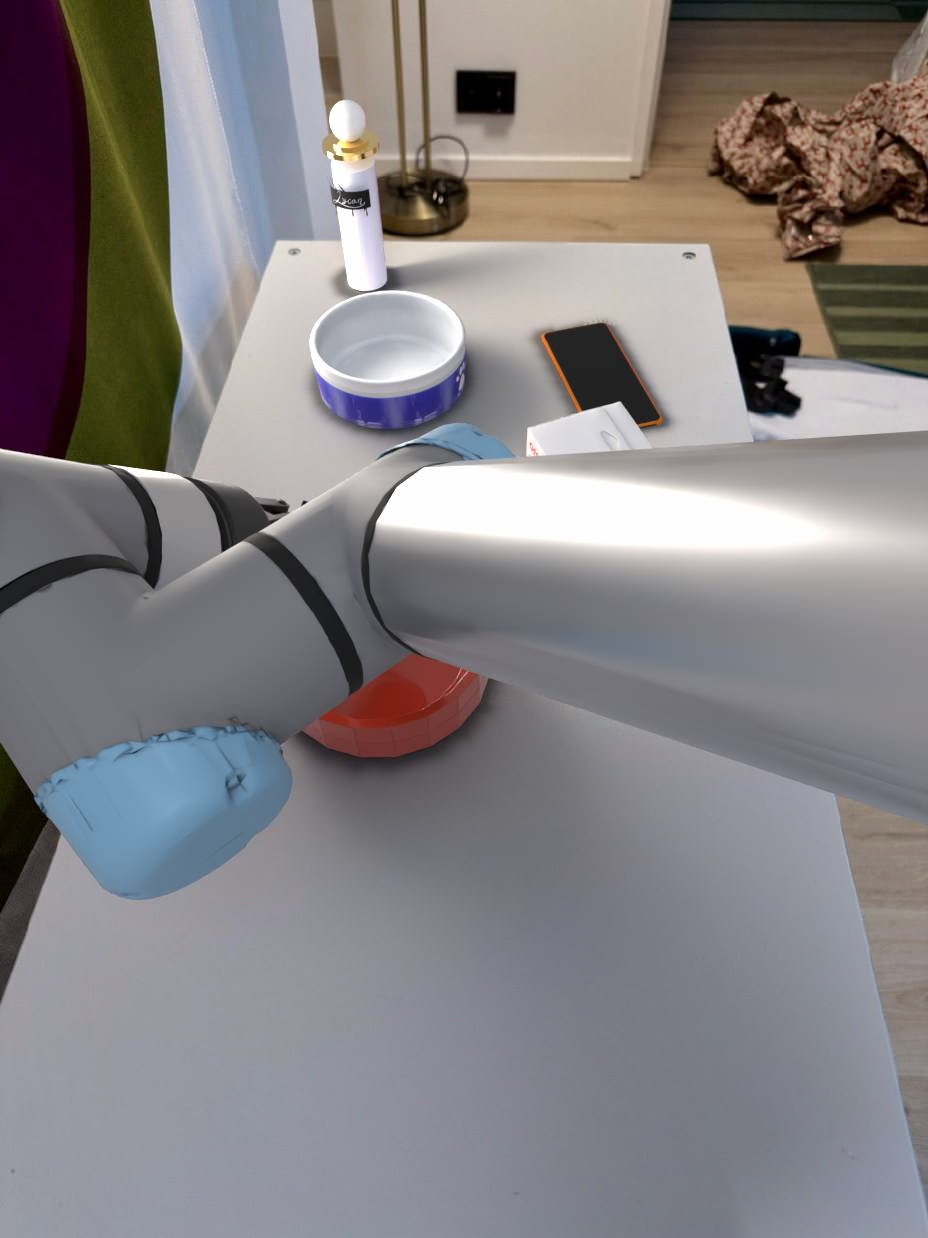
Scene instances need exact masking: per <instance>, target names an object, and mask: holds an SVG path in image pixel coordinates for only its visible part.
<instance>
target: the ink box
mask: <svg viewBox="0 0 928 1238" xmlns="http://www.w3.org/2000/svg"><path fill="white" fill-rule="evenodd" d="M526 430H527V431H526V456H525V457H529V456H544V455H559V454H574V453H590V452H605V451H620V450H636V449H651V448H654V446H653V445H652V443H651V442H650V441H649V439H648V438H647V437H646V435H645V434H644V432H643V431H642V428H639V427H638V425H637V424H636V423H635V421H634V420H633V418H632V417H631V416H630V414H629V413H628V411H627V410H626V409H625V407H624V406H623V404H622V403H621V402H616V403H613V404H609V405H605V406H601V407H597V408H593V409H589V410H586V411H582V412H578V411H577V412H575V413H571V414H568V415H567V414H566V415H564V416H559V417H557V418H554V419H551V420H547V421H543V422H541V423H538V424H534V425H531V426H528V427H527V429H526Z"/></svg>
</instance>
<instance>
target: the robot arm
mask: <svg viewBox="0 0 928 1238" xmlns="http://www.w3.org/2000/svg"><path fill="white" fill-rule="evenodd" d="M290 508H291V505H290V504H289V503H287V501H286V500H284V499H281V498H279V499H276V498H270V497H260V496H259V497H257V496H254V495H252V494H251V493H249V492H248V491H247V490H245V489H243V488H242V487H240V486H238V485H235V484H232V483H230V482H223V481H217V480H211V479H210V480H209V479H203V478H196V477H189V476H181V475H179V474H174V473H170V472H164V471H157V470H149V469H142V468H134V467H127V466H121V465H112V464H102V465H101V464H100V463H82V462H77V461H71V460H65V459H60V458H54V457H48V456H43V455H36V454H31V453H25V452H20V451H14V450H9V449H3V448H0V744H1V746H2V748H3V749H4V751H5V752H6V753H7V755H8V757H9V759H10V760H11V761H12V763H13V764H14V767H16V769H17V771H18V772H19V774H20V775H21V777H22V778H23V780H24V782H25V783H26V785H27V786H28V788H29V789H30V791H31V793H32V794H33V800H34V801H35V803H36V805H37V806H38V807H39V809H40V811H41V813H43V814H44V815H45V816H46V817H47V818H48V819H49V820H51V821H52V823H53V824H54V826H55V827H56V828H57V830H58V831H59V833H60V834H61V836H62V837H63V838H64V839H65V840H66V842H67V843H68V845H69V846H70V847H71V848H72V851H74V853H75V854H76V855H77V857H78V858H79V859H80V861H81V862H82V863H83V865H84V866H85V867H86V869H87V870H88V871H89V873H90V874H91V875H92V876H93V879H94V880H95V881H96V883H98V885H99V886H100V887H101V888H102V889H103V890H104V891H106V892H108V893H110V894H111V895H116V896H117V897H119V898H122V899H127V900H131V901H145V900H152V899H156V898H160V897H163V896H168V895H170V894H173V893H175V892H177V891H180V890H181V889H184V888H186V887H188V886H190V885H192V884H194V883H196V882H198V881H199V880H202V879H203V878H205V877H206V876H207V875H209V874H211V873H212V872H214V871H215V870H217V869H218V868H220V867H222V866H223V865H224V864H226V863H227V862H228V861H230V860H231V859H233V858H234V857H235V856H236V855H237V854H239V853H241V851H243V850H244V849H246V848H247V845H248V844H249V843H250V841H251V840H252V839H253V838H254V837H255V836H256V835H258V834H259V833H262V832H263V831H264V830H265V829H267V828H268V827H269V826H270V824H272V822H274V820H275V819H276V818H277V817H278V816H279V814H280V813H281V811H282V810H283V808H284V807H285V805H286V803H287V802H288V800H289V799H290V795H291V792H292V789H293V785H294V784H293V783H294V780H293V773H292V770H291V767H290V766H289V763H287V761H286V759H285V758H284V752H283V748H282V746H281V745H283V744H284V743H286V742H287V741H289V740H290V739H292V738H293V737H295V736H297V734H298V733H300V732H302V730H303V729H304V728H306V727H307V726H308V725H310V724H311V723H313V722H314V721H316V720H317V719H319V718H320V717H321V716H323V715H324V714H326V713H327V712H329V711H330V710H331V709H333V708H334V707H336V706H337V705H339V704H340V703H341V702H343V701H344V700H346V699H347V698H348V697H349V696H350V695H352V694H353V693H355V692H356V691H358V690H359V689H361V688H362V687H363V686H365V685H366V684H368V683H369V682H371V681H372V680H374V679H375V678H376V677H378V676H379V675H381V674H382V673H384V672H385V671H386V670H388V669H389V668H391V667H392V666H394V665H395V664H397V663H398V662H399V661H401V660H402V659H404V658H405V657H407V656H408V655H410V654H412V653H413V654H416V655H419V656H422V657H425V658H429V659H432V660H436V661H441V662H444V663H447V664H450V665H452V666H455V667H458V668H461V669H464V670H467V671H470V672H473V673H476V674H479V675H482V676H485V677H488V678H489V679H490V680H491V679H492V680H494V681H496V682H497V681H498V682H500V683H502V684H506V685H509V686H512V687H515V688H517V689H521V690H524V691H527V692H529V693H533V694H536V695H538V696H542V697H545V698H548V699H551V700H554V701H557V702H559V703H563V704H565V705H569V706H572V707H574V708H577V709H581V710H584V711H586V712H590V713H593V714H596V715H598V716H601V717H604V718H607V719H610V720H613V721H616V722H619V723H623V724H624V725H625V724H626V725H628V726H631V727H635V728H637V729H640V730H643V731H646V732H648V733H652V734H655V735H657V736H661V737H664V738H667V739H669V740H673V741H675V742H679V743H681V744H684V745H688V746H691V747H693V748H696V749H699V750H702V751H705V752H708V753H712V754H715V755H717V756H720V757H723V758H726V759H728V760H729V759H730V760H731V761H732V760H733V761H735V762H739V763H741V764H743V765H748V766H749V767H753V768H756V769H760V770H762V771H765V772H767V773H771V774H775V775H777V776H779V777H783V778H785V779H789V780H792V781H794V782H797V783H801V784H803V785H806V786H809V787H812V788H815V789H819V790H821V791H824V792H827V793H829V794H830V793H831V794H833V795H836V796H839V797H842V798H845V799H848V800H851V801H854V802H857V803H860V804H863V805H866V806H869V807H872V808H875V809H878V810H881V811H884V812H887V813H890V814H893V815H895V816H899V817H901V818H905V819H908V820H910V821H913V822H916V823H918V824H919V823H920V824H922V825H925V826H928V429H927V430H914V431H913V430H912V431H898V432H897V431H895V432H882V433H881V432H880V433H867V434H866V433H865V434H855V435H854V434H852V435H850V434H849V435H838V436H837V435H836V436H835V435H834V436H821V437H805V438H791V439H789V438H788V439H776V440H775V439H774V440H760V441H759V440H758V441H743V442H728V443H714V444H700V445H698V444H697V445H684V446H669V447H653V448H651V449H636V450H620V451H605V452H590V453H574V454H559V455H544V456H529V457H526V456H516V455H515V454H514V453H513V452H512V450H510V448H509V447H508V446H507V445H506V444H505V443H503V442H502V441H501V440H500V439H499V438H497V437H496V436H494V435H484V433H483V431H482V430H481V429H480V428H479V427H477V426H476V425H474V424H469V423H465V422H453V423H448V424H443V425H440V426H438V427H436V428H435V429H432V430H431V431H428V432H426V433H425V434H423V435H421V436H418V437H417V438H415V439H411V440H409V441H405V442H402V443H400V444H397V445H394V446H392V447H390V448H388V449H386V450H384V451H383V452H382V453H380V455H379V456H378V457H377V458H376V459H375V460H374V461H372V463H370V464H368V465H367V466H366V467H364V468H362V469H361V470H359V471H357V472H355V473H354V474H352V475H350V476H348V477H347V478H346V479H344V480H342V481H340V482H339V483H338V484H336V485H334V486H332V487H331V488H329V489H328V490H326V491H324V492H322V493H321V494H319V495H318V496H316V497H315V498H313V499H311V500H309V501H308V500H304V499H303V500H302V501H301V505H300V506H299V507H298V508H296V509H294V510H293V511H289V510H290Z"/></svg>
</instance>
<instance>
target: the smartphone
mask: <svg viewBox="0 0 928 1238" xmlns="http://www.w3.org/2000/svg"><path fill="white" fill-rule="evenodd" d="M540 338H541V342H542V343H543V345H544V347H545V349H546V352H547V353H548V355H549V357H550V359H551V361H552V363H553V364H554V366H555V369H556V371H557V372H558V375H559V377H560V378H561V380H562V382H563V385H564V386H565V388H566V390H567V392H568V394H569V396H570V398H571V400H572V402H573V404H574V406H575V408H576V410H577V413H578V412H582V411H586V410H589V409H593V408H597V407H601V406H605V405H609V404H613V403H616V402H621V403H622V404H623V406H624V407H625V409H626V410H627V411H628V413H629V414H630V416H631V417H632V418H633V420H634V421H635V423H636V424H637V425H638V427H639V428H640V429H645V428H649V427H654V426H659V425H661V424H662V423H663V420H664V418H663V416H662V415H661V412H660V411H659V409H658V407H657V405H656V404H655V403H654V401H653V399H652V398H651V396H650V394H649V393H648V390H647V389H646V387H645V386H644V384H643V382H642V380H641V379H640V377H639V375H638V373H637V372H636V370H635V368H634V367H633V365H632V363H631V361H630V359H629V357H628V356H627V354H626V353H625V351H624V349H623V347H622V346H621V344H620V342H619V340H618V339H617V337H616V335H614V333H613V331H612V330H611V328H610V326H609V324H607V323H606V322H604V321H603V322H601V321H600V322H595V323H589V324H585V325H578V326H574V327H568V328H562V329H557V330H552V331H546V332H544V333H542V334H541V337H540Z"/></svg>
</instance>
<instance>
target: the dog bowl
mask: <svg viewBox="0 0 928 1238" xmlns="http://www.w3.org/2000/svg"><path fill="white" fill-rule="evenodd" d="M309 336H310V337H309V349H310V353H311V359H312V364H313V368H314V373H315V376H316V377H315V378H316V380H317V386H318V389H319V393H320V396H321V398H322V401H323V402H324V404H325V405H326V407H327V408H328V409H329V410H330V411H331V412H332V413H333V414H335V415H336V416H338V417H339V418H341V419H342V420H343V421H347V422H349V423H350V424H354V425H357V426H361V427H365V428H370V429H378V430H397V429H398V430H399V429H405V428H410V427H414V426H418V425H421V424H424V423H427V422H429V421H431V420H433V419H435V418H437V417H439V416H441V415H443V414H444V413H445V412H447V411H448V410H450V408H451V407H453V405H454V404H456V402H457V401H458V400H459V399H460V397H461V395H462V393H463V391H464V388H465V383H466V369H467V367H466V364H467V363H466V362H467V350H466V349H467V347H466V346H467V339H466V336H467V335H466V328H465V325H464V323H463V321H462V318H461V317H460V316H459V315H458V313H457V311H455V310H454V309H453V308H452V307H451V306H449V304H446V303H445V302H443V301H442V300H440V299H437V298H436V297H432V296H430V295H427V294H424V293H419V292H415V291H409V290H379V291H373V292H367V293H363V294H359V295H356V296H353V297H349V298H348V299H346V300H343V301H341V302H339V303H338V304H335V305H334V306H332V307H331V308H330V309H328V310H327V311H326V312H325V313H324V314H322V316H321V317H320V318H319V319H318V320H317V321H316V323H315V324H314V326H313V328H312V330H311V332H310V335H309Z"/></svg>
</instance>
